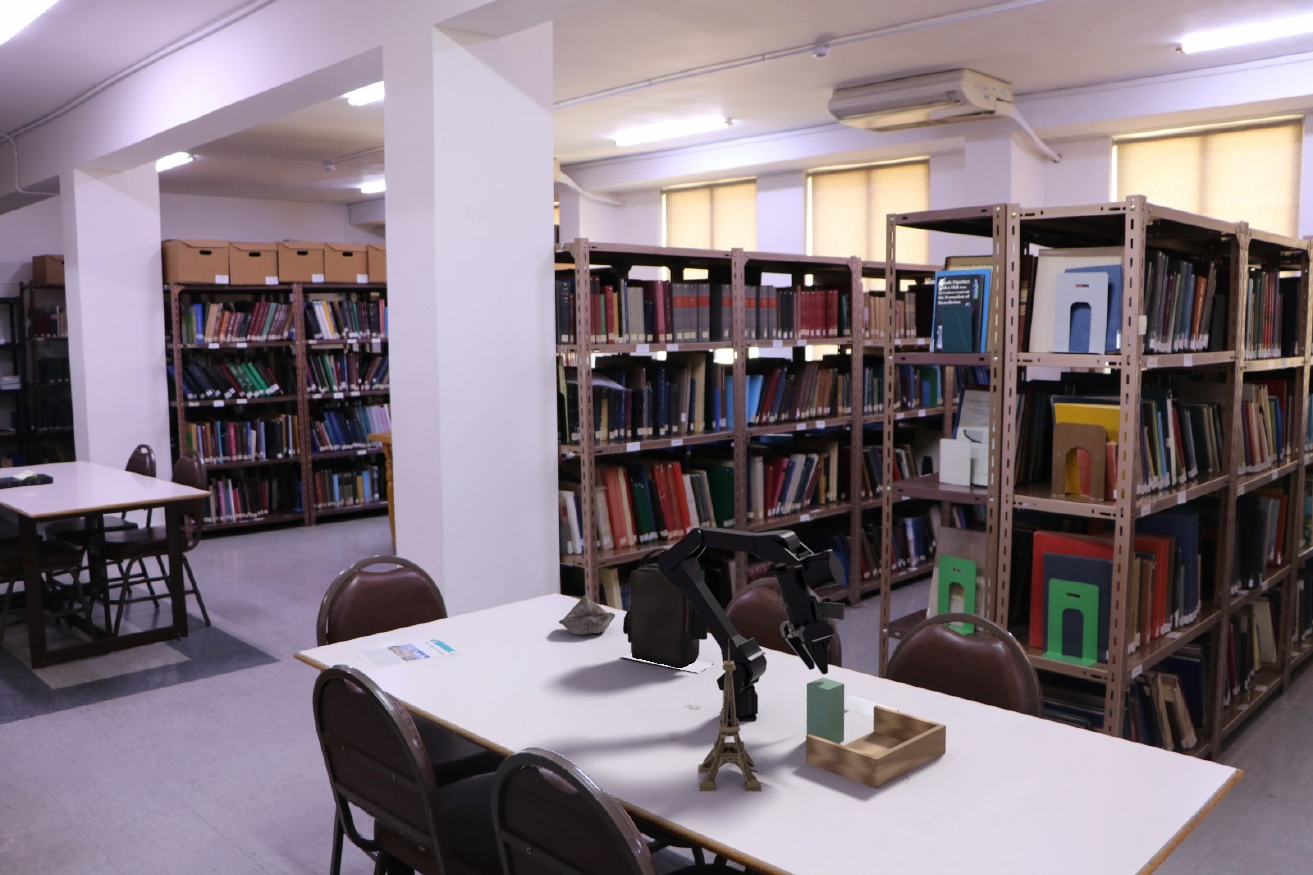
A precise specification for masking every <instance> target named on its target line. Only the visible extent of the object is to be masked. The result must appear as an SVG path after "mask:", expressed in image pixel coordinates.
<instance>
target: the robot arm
mask: <svg viewBox="0 0 1313 875" xmlns="http://www.w3.org/2000/svg"><path fill="white" fill-rule="evenodd" d="M669 548H670V549H667V550H664V551H662V550H661V551H660V553H659V554H658V557H657V563H656V564H657V567H658V569H659V571H660V572H661V574H662V575H663V576H664V577H665V578H666V579H667V580H668V581H669V582H670V583H671V584H673V585H674V586H676V587H677V588H679V589H680V590H682V591H683V592H684V594H685V595H686V597H687V598H688V600H689V601H690V603H691V604H692V606H693V607H694V609H695V610H696V612H697V613H698V615H699V616H700V618H701V619H702V621H703V622H704V624H705V625H706V627H707V631H709V633H710V634H711V637H713V639H714V641H716V643H717V645H718V647H719V648H720V650H721V651H720V652H721V658H722V665H724V661H728V650H729V652H730V661H734V665H735V669H736V670H734V671H732V673H733V685H734V697H735V710H736V719H737V718H738V721H757V720H758V717H757V715H758V714H759V695H758V693H757V690H756V686H755V684H757V683H759V681H760V677H761V676H763V675H764V674H765V673H766V671H767V664H768V661H767V659H766V657H765V655H766V652H765V651H764V650H763V649H762V648H761V647H760V645H759V643H758V641H757V640H756V638H755V637H751V638H749V639H747V638H745V637H744V636H742V635H741V634H740V633H739V631H738V630H737V628H736V627H735V626H734V624H733V623H732V621H731V620H730V618H729V617H728V615H727V613H726V612H725V611H724V609H723V607H722V606H721V604H720V603H719V601H718V600H717V599H716V597H715V596H714V594H713V593H712V591H711V589H710V588H709V587H708V585H707V584H706V582H705V581H704V578H703V577H702V576H703V575H702V571H701V564H700V562H699V560H698V558H699V557H700V556H701V555H702V554H703V552H704V551H705V549H706V548H711V549H719V550H726V551H732V552H733V551H734V552H739V553H748V554H751V555H753V556H756V558H758V559H759V560H760V559H761V560H763V561H766V562H769V563H770V564H769V566H768V569H767V571H766V572H765V573H764V577H765V578H769V577H774V576H775V578H776V582H777V585H778V590H779V593H780V596H781V600H782V601H781V602H780V605H781V608H782V609H784V610H785V614H786V617H787V620H786V621H783V622H782V623H781V624H780V626H779V630H780V633H781V637H783V638H784V640H785V641H786V642H787V644H788V645H789V646H790V647H791V649H792V650H793V651H794V652H795V654H797V656H798V657H799V659H800V660H801V661H802V662H803V664H804V665H805V666H806V667H807V669H808V670H810V671H811V670H814V669H815V666H816V667H817V669H818V670H819V672H820V673H821V674H822V675H828V673H829V657H828V652H829V651H828V646H829V644H830V642H831V640H832V639H833V638H834V637H835V636H834V635H835V634H836V633H837V632H836V630H835V627H834V623H833V622H831V621H829V620H826V619H827V618H828V619H836V620H839V621H841V620H842V621H844V620H845V606H846V604H845V603H840V602H833V600H832V598H831V597H826V596H825V597H823V596H820V599H819V600H818V599H817V596H816V595H814V594H813V595H812V593H811V589H810V588H812V589H813V590H819V589H823V588H824V589H825V588H827V587H832V586H838V585H842V584H843V583H844V581H845V568H844V565H843V563H842V562H841V560H840V559H839V557H838V556H837V555H835V553H834V550H833V549H831V548H830V549H827V550H824V551H822V552H819V553H814V552H813V551H812V550H811V549H810V548H809V547H807V546H806V545H805V544H804V543H803V542H801V541H800V539H799V537H798V535H796V532H794V531H792V530H789V529H785V530H784V529H783V530H771V531H764V532H763V531H762V532H754V531H753V532H752V531H743V530H735V529H728V528H720V527H712V526H709V525H706V524H705V525H700V526H696V527H693V528H692V529H690V530H689V532H687V534H685V536H684V537H683V538H681V539H680V540H678V541H677V542H676V543H674V544H673V545H671V547H669ZM780 563H782V564H780ZM799 564H800V565H799ZM824 618H825V619H824ZM716 683H717V687H718V689H719V691H722V697H723V696H724V684H725V672H724V673H723V674H722V675H720V676H719V678H717V679H716ZM722 710H723V707H722V708H721V711H722ZM728 720H731V710H730V696H729V704H728Z"/></svg>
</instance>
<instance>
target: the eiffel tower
mask: <svg viewBox="0 0 1313 875" xmlns="http://www.w3.org/2000/svg"><path fill="white" fill-rule="evenodd" d="M722 670H723V671H725V672H724V673H725V684H724V696H723V695H722V708H723V710H722V709H721V718H719V719H718V730H719V731H718V736H717V739H716V740H714V741H713V747H712V749H711V750H710V751H709V753H708V754H707V755H706V757H705V758H704V759H703V762H702V763H701V764H698V772H699V773H706V774H705V776H704V777H703V778H702V781H701V782H699V792H716V791H717V788H716V787H717V786H716V783H717V782H716V779H717V776H718V773H719V769H720V768H722V766H724V765H726V764H734V765H736V766H737V767H739V769H740V770H741V773H742V774H743V777H744V789H745V792H762V791H763V789H762V784H761V782H759V781H758V778H757V777H756V776H755V775H754V774H753V773H759V771H757V770H754V769H752V768H750V767H755V766H756V765H755V763H754V760H753V759H752V757H751V755H750V754H749V753H748V751H747V750H746V749H745V742H744V741H742V738H741V737H740V734H739V732H740V731H741V728H740V720H738V718H737V719H736V710H735V697H734V685H733V673H732V671H734V670H736V669H735V665H734V661H730V652H729V650H728V661H724V664H722ZM729 696H730V710H731V720H728V704H729ZM726 737H733V740H734V742H731V741H730V742H729V741H727V742H726Z"/></svg>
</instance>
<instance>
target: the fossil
mask: <svg viewBox="0 0 1313 875" xmlns="http://www.w3.org/2000/svg"><path fill="white" fill-rule="evenodd" d="M615 617H616V614H615V613H613V612H611V611H610V612H608V611H607V610H605V609H604V608H602V607H601V605H599V604H598V603H596V602H595V601H594V600H592V599H591V598H590V597H589V595H583V596H582V597H581V599H580V600H579V601H578V602H577V603H575V605H574V606H573V607H572V608H571V610H570V611H569V612H568V613H567V614H566V615H565V617H564V618H562V619H560V620H559V621H558V623H559V624H560V625H562V626H564V627H565V628H566V629H567V630H568V631H569V632H570V633H572V634H574V633H576V634H575V635H579V634H585V635H589V634H588V633H590V634H592V633H598V634H601V633H603V632H605V631H606V630H607V629H608V628H609V626H610V624H611V623H612V621H613V620H614V619H615ZM600 632H601V633H600Z"/></svg>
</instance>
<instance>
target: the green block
mask: <svg viewBox="0 0 1313 875" xmlns="http://www.w3.org/2000/svg"><path fill="white" fill-rule="evenodd" d="M844 697H845V683H842V682H839V681H836V680H832V679H829V678H826V677H821V678H818V679H816V680H815V679H814V680H813V681H810V682H808V683H806V735H809V734H811V735H814V736H817V737H820V738H823V739H826V740H829V741H832V742H835V743H838V744H840V743H841V742H843V741H844V740H845V713H844Z"/></svg>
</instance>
